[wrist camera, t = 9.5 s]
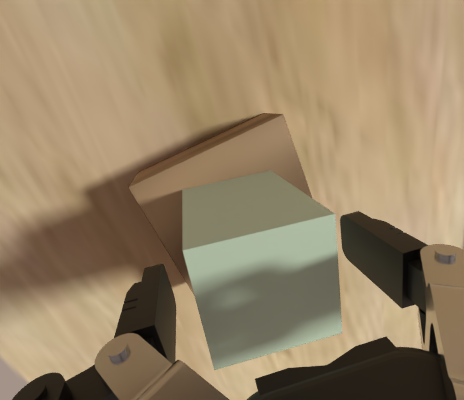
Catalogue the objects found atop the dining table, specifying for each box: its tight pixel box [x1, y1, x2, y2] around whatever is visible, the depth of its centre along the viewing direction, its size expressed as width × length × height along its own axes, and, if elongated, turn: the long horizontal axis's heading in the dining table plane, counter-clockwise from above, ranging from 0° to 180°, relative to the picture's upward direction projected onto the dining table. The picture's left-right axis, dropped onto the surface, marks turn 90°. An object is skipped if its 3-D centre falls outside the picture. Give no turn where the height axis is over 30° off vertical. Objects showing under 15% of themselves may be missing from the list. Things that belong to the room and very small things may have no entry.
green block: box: [182, 170, 342, 370], centre depth 13 cm, size 5×5×7 cm
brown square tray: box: [129, 113, 312, 296], centre depth 18 cm, size 9×9×4 cm
